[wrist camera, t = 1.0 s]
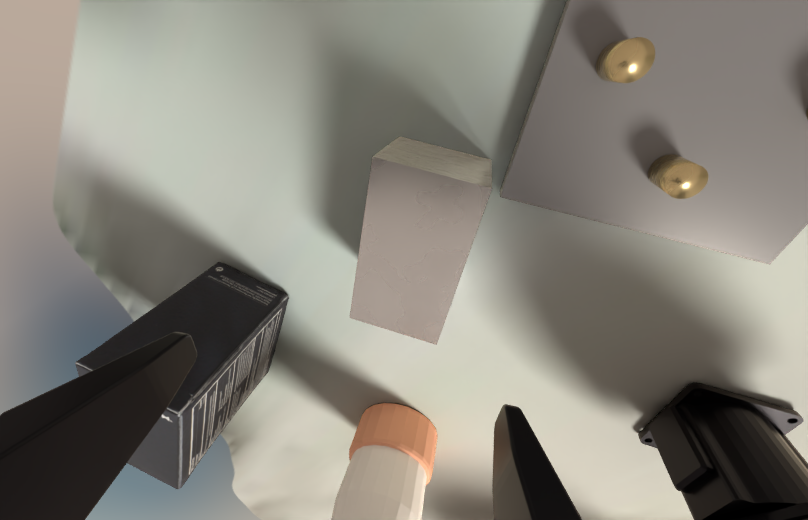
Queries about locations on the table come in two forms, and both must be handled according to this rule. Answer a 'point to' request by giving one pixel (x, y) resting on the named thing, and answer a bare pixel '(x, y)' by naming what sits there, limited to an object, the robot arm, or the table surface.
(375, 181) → the block
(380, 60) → the table surface
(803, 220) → the pin tray
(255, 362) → the small box
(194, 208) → the table surface
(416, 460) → the pepper shaker
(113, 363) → the robot arm
